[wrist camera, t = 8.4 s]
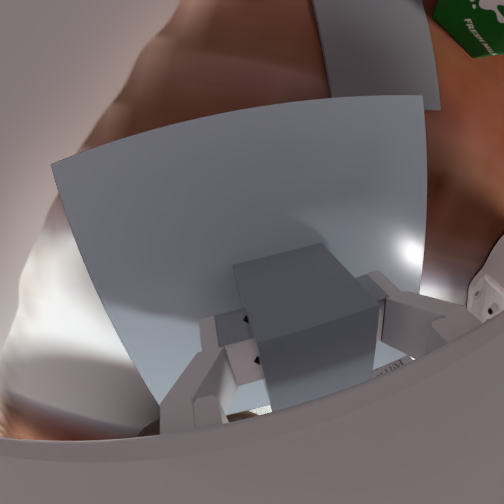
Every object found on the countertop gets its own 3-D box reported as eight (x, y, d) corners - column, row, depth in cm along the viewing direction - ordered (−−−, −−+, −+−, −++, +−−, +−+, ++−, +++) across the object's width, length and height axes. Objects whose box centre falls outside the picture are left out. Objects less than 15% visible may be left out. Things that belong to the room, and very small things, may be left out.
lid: (403, 94, 10) (505, 103, 6) (397, 341, 16) (446, 404, 11) (63, 158, 9) (-20, 198, 4) (171, 407, 15) (176, 493, 10)
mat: (438, 110, 24) (440, 110, 24) (332, 115, 23) (334, 115, 23) (418, -2, 19) (421, -3, 18) (307, -17, 18) (308, -19, 17)
